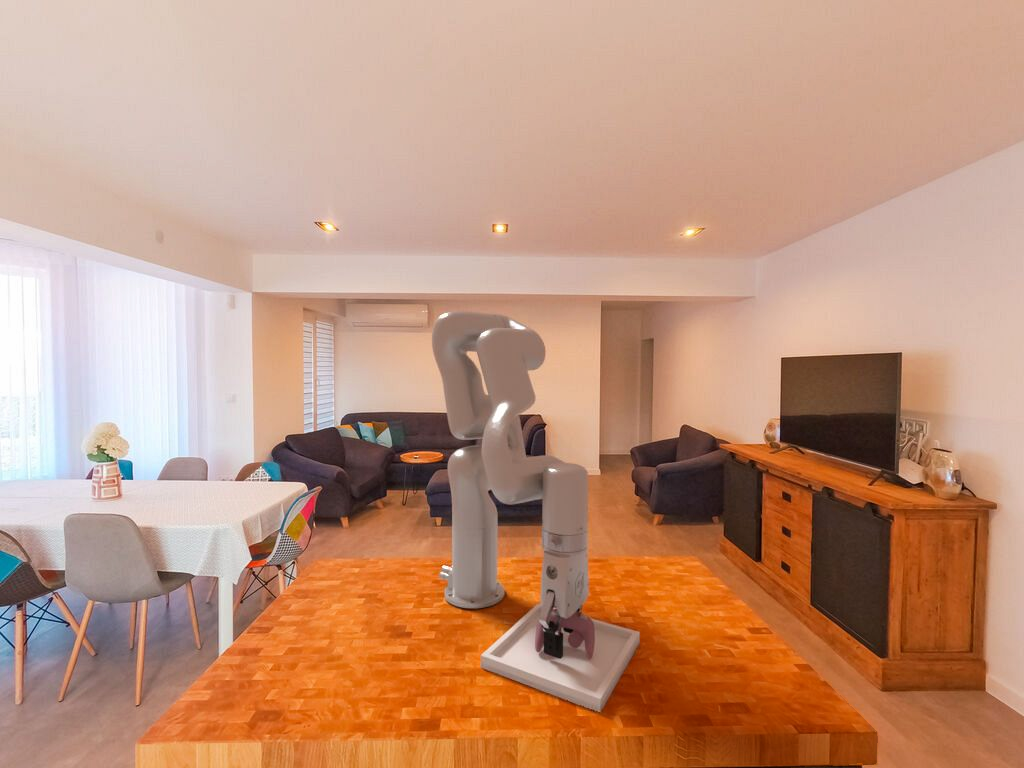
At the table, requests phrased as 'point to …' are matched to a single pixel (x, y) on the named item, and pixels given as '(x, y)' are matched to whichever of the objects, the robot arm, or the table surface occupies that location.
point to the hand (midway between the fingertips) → (563, 642)
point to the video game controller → (581, 631)
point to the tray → (564, 661)
